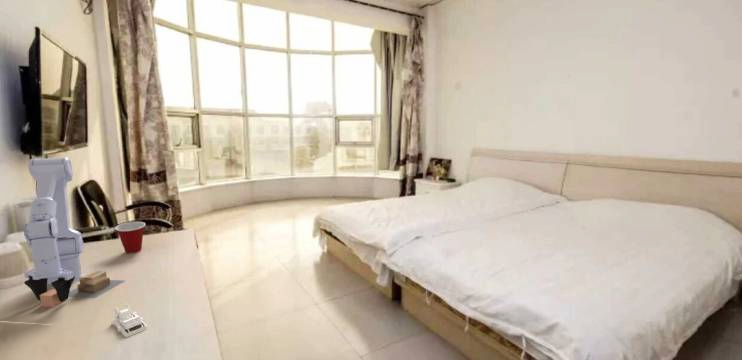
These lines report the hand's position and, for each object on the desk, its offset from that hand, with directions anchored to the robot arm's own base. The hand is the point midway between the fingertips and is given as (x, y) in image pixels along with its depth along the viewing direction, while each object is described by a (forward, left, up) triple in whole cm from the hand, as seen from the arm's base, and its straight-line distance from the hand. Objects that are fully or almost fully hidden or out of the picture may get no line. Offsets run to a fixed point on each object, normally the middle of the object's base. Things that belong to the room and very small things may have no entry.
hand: (53, 299), depth 105 cm
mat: (+4, +10, -1) cm, 11 cm away
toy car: (+32, -8, -2) cm, 34 cm away
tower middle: (+4, +10, +1) cm, 11 cm away
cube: (0, 0, -2) cm, 2 cm away
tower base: (+4, +10, -1) cm, 11 cm away
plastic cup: (-10, +43, -2) cm, 44 cm away
